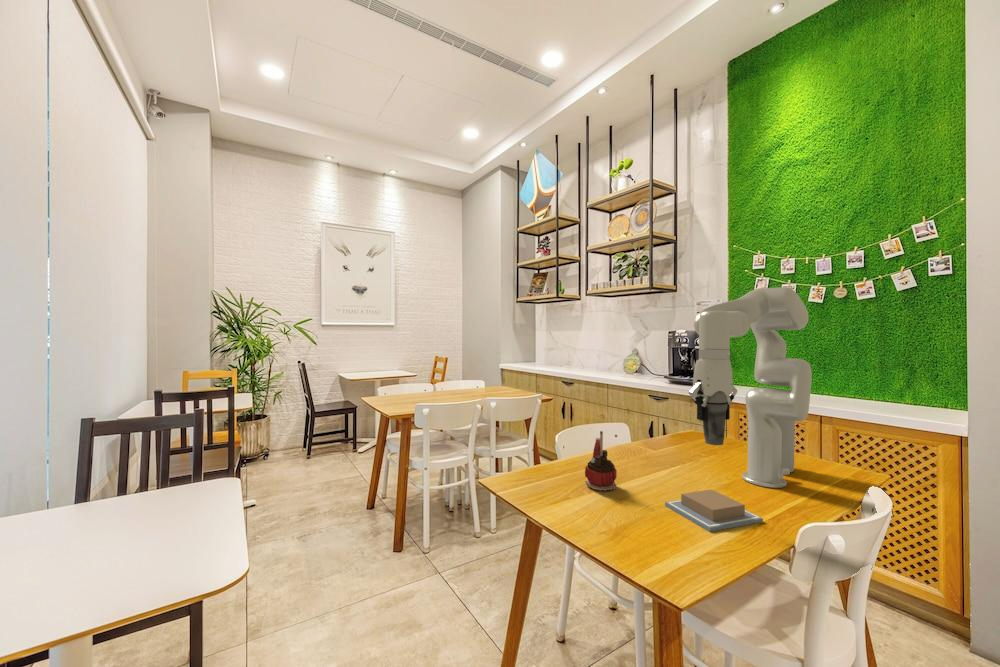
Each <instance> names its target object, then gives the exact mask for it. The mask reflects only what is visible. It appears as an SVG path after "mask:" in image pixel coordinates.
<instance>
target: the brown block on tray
mask: <svg viewBox="0 0 1000 667" xmlns="http://www.w3.org/2000/svg"><path fill="white" fill-rule="evenodd" d="M680 495H681V498H680V499H677V500H671V501H665V503H664V506H665V507H666V508H669V509H670V510H672V511H674V512H675V513H677V514H679V515H680V516H682V517H683V516H684V518H686V519H687V520H688V521H690V520H691V523H694V524H696V525H697V526H699V527H700V526H701V528H702V529H704V530H705V531H707V532H709V533H711V531H712V532H717V530H718V531H721V530H722V529H723V530H726V529H727V528H728V529H732V528H733V527H734V528H739V527H745V526H749V524H750V525H754V524H753V523H755V524H759V523H758V522H761V523H763V522H764V517H761V516H760V515H757V514H755V513H753V512H751V511H748V510H747V509H746V507H745V506H746V505H745V504H744V503H742V502H740V501H737V500H735V499H734V498H730V497H729V496H727V495H724V494H722V493H720V492H718V491H716V490H714V489H707V490H706V489H705V490H700V491H692V492H685V493H681V494H680ZM728 529H727V530H728ZM723 530H722V531H723Z"/></svg>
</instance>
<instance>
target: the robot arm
mask: <svg viewBox="0 0 1000 667" xmlns="http://www.w3.org/2000/svg"><path fill="white" fill-rule="evenodd" d="M808 323H809V312H808V310H807V307H806V305H805V304H804V302H803V300H802V299H801V297H800V296H799V294H798V293H797V292H796V291H795V290H794V289H793V288H790V287H787V286H781V287H765V288H764V287H763V288H756V289H752V290H750V291H749V292H746V293H745V294H744V295H742V296H740V297H738V298H737V299H736V298H735V299H732V300H728V301H726V302H725V301H724V302H722V303H718V304H714V305H711V306H708V307H706V308H704V309H702V310H701V311H699V313H697V314H696V317H695V318H694V321H693V328H694V330H695V333H696V334H697V335H698V339H699V340H698V359H696V361H695V364H694V370H693V377H692V388H690V390H689V391H688V394H689V396H690V398H691V400H692V401H693V402H694V404H695V406H696V419H697V420H698V421H702V422H703V421H708V407H706V404H707V402H708V398H709V397H711V396H713V394H714V393H716V392H718V391H722V392H724V393H725V394H726V396H727V400H728V406H727V410H726V420H727V421H728V420H730V418H731V417H730V413H731V412H730V411H731V410H730V408H731V407H730V406H732V404H733V400H734V399H735V396H736V395H737V393H738V389H737V388H736V387H735V386H734V384H733V383H734V382H733V381H734V378H733V370H732V369H733V367H732V363H731V359H730V356H731V352H730V351H731V350H730V348H731V347H730V342H731V338H739V337H743V336H745V335H746V334H748V333H749V331H750V329H751V331H752V333H753V335H754V338H755V341H756V354H755V361H754V371H753V375H754V376H753V377H754V379H755V381H756V382H757V383H760V384H761V385H767V386H768V385H769V386H775V387H776V386H778V387H779V386H780V387H788V388H791V390H786V389H777V388H768V387H755V388H751V389H749V390H748V391H747V392H746V394H745V398H744V399H745V406H746V412H747V413H746V414H747V428H748V430H747V431H748V433H747V471H745V472H743V473H742V479H743V480H744V481H746V482H747V483H750V484H753V485H756V486H760V487H765V488H771V489H772V488H773V489H780V488H786V487H787V485H788V484H787V483H788V482H787V480H786V479H785V478H783V476H787V475H790V474H791V473H790V470H789V469H781V451H782V432H781V429H780V427H779V425H778V424H777V422H776V421H775V420H774V418H779V419H786V420H792V421H795V422H801V421H805V420H806V419H807V417H808V415H809V411H810V410H809V409H810V402H811V401H810V399H811V390H812V378H813V377H812V376H813V375H812V374H813V373H812V368H811V365H810V363H809V362H808V361H807V360H805V359H801V358H795V357H793V358H792V357H791V358H790V357H786V356H787V347H788V346H787V342H786V340H785V339H784V338H783V337H782V335H780V334H779V333H778V331H799V330H802V329H804V328H806V326H807V324H808ZM702 393H704V395H703V394H702ZM702 397H704V398H703V401H702V400H701V398H702ZM726 420H725V421H726Z"/></svg>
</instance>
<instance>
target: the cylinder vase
mask: <svg viewBox="0 0 1000 667" xmlns="http://www.w3.org/2000/svg"><path fill="white" fill-rule="evenodd" d="M774 420H775V421H776V422H777V424H778V425H779V427H780V429H781V432H782V451H781V469H789V470H790V472H791V473H793V472H794V471H795V442H796V441H795V435H796V434H795V431H796V430H795V428H796V427H795V426H796V421H792V420H786V419H779V418H774Z"/></svg>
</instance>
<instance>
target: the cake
mask: <svg viewBox="0 0 1000 667" xmlns="http://www.w3.org/2000/svg"><path fill="white" fill-rule="evenodd" d="M603 433H604V432H603V431H602V430H600V432H599V437H596V438H595V444H594V447H593V452H592V453H593V454H592V457H591V459H590V461H589V462H588V463H587V465H586V466H585V468H584V469H585V470H584V476H585V478H587V479H586V480H585V485H586V486H587V487H588V488H592V489H594V490H596V491H597V490H598V491H610V490H611V491H612V490H615V489H616V487H617V483H616V482H615V480H616V479H617V478H618V477H617V472H618V471H617V469H616V467H615V464H614V463H613V462H612V461H611V459H608V450H605V449H603V446H604V445H603V444H604V443H603V441H604V440H603V439H604V438H603V437H604V436H603V435H604V434H603Z"/></svg>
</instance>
